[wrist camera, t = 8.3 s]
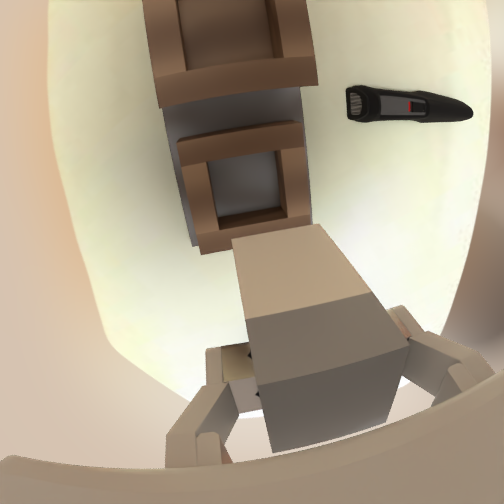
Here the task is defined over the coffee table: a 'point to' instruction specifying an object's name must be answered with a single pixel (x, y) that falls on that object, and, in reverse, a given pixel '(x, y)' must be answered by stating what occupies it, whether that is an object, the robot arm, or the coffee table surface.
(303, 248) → the plug
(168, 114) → the twin wooden frame tray
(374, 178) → the coffee table surface
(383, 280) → the coffee table surface
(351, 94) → the electric trimmer
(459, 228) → the coffee table surface
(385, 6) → the coffee table surface
